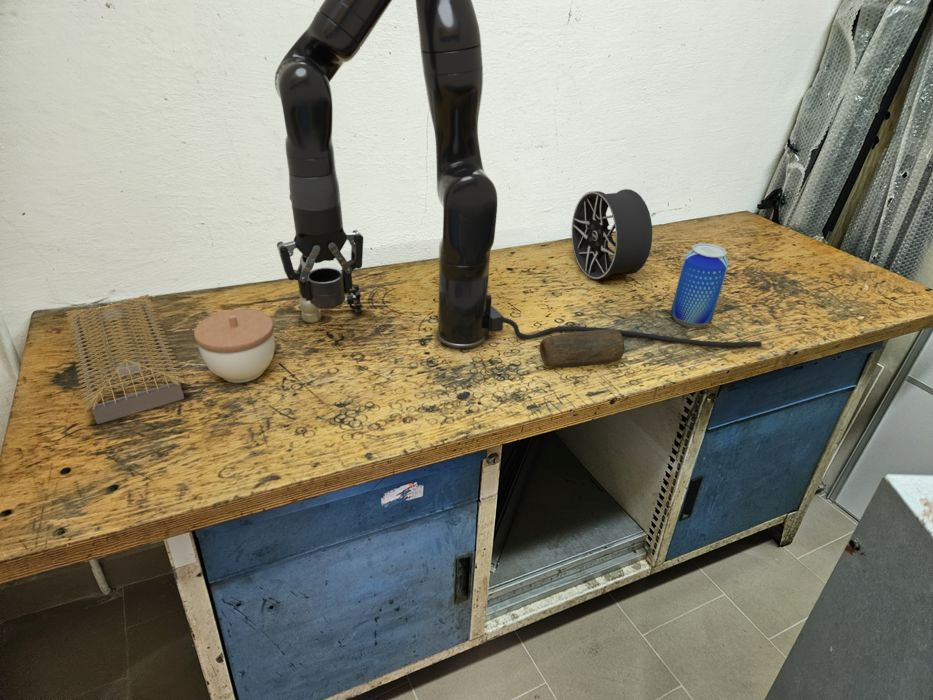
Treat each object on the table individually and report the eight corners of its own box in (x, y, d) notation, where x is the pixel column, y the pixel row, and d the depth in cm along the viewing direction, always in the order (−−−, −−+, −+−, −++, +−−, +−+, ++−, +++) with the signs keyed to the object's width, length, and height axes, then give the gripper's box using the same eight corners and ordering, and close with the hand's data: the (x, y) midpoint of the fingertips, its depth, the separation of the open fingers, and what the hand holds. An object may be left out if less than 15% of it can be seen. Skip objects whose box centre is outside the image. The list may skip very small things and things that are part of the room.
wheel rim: (567, 258, 150) (577, 180, 139) (598, 254, 153) (611, 177, 142) (608, 293, 134) (624, 208, 123) (642, 288, 137) (660, 205, 126)
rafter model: (191, 399, 96) (183, 368, 93) (91, 429, 90) (78, 397, 86) (152, 309, 121) (144, 282, 117) (71, 327, 114) (60, 299, 110)
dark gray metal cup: (339, 290, 105) (337, 265, 103) (350, 305, 101) (347, 279, 98) (306, 297, 103) (302, 271, 100) (315, 312, 99) (311, 286, 96)
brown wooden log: (606, 348, 114) (612, 318, 111) (623, 368, 109) (630, 338, 105) (534, 357, 111) (537, 327, 107) (548, 378, 105) (552, 347, 101)
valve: (302, 327, 117) (363, 320, 120) (298, 298, 113) (360, 291, 116) (300, 311, 122) (358, 305, 125) (296, 283, 119) (356, 277, 122)
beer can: (712, 315, 127) (733, 246, 119) (708, 333, 121) (730, 261, 112) (672, 306, 130) (690, 238, 121) (666, 323, 124) (684, 252, 115)
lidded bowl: (188, 381, 101) (173, 325, 95) (238, 345, 111) (227, 293, 105) (248, 400, 97) (236, 343, 91) (294, 361, 107) (287, 308, 101)
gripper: (274, 214, 87) (290, 313, 96) (367, 201, 92) (374, 296, 101) (264, 198, 92) (280, 293, 101) (352, 187, 98) (360, 278, 107)
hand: (327, 294), depth 101 cm, fingers closed on dark gray metal cup, 6 cm apart
